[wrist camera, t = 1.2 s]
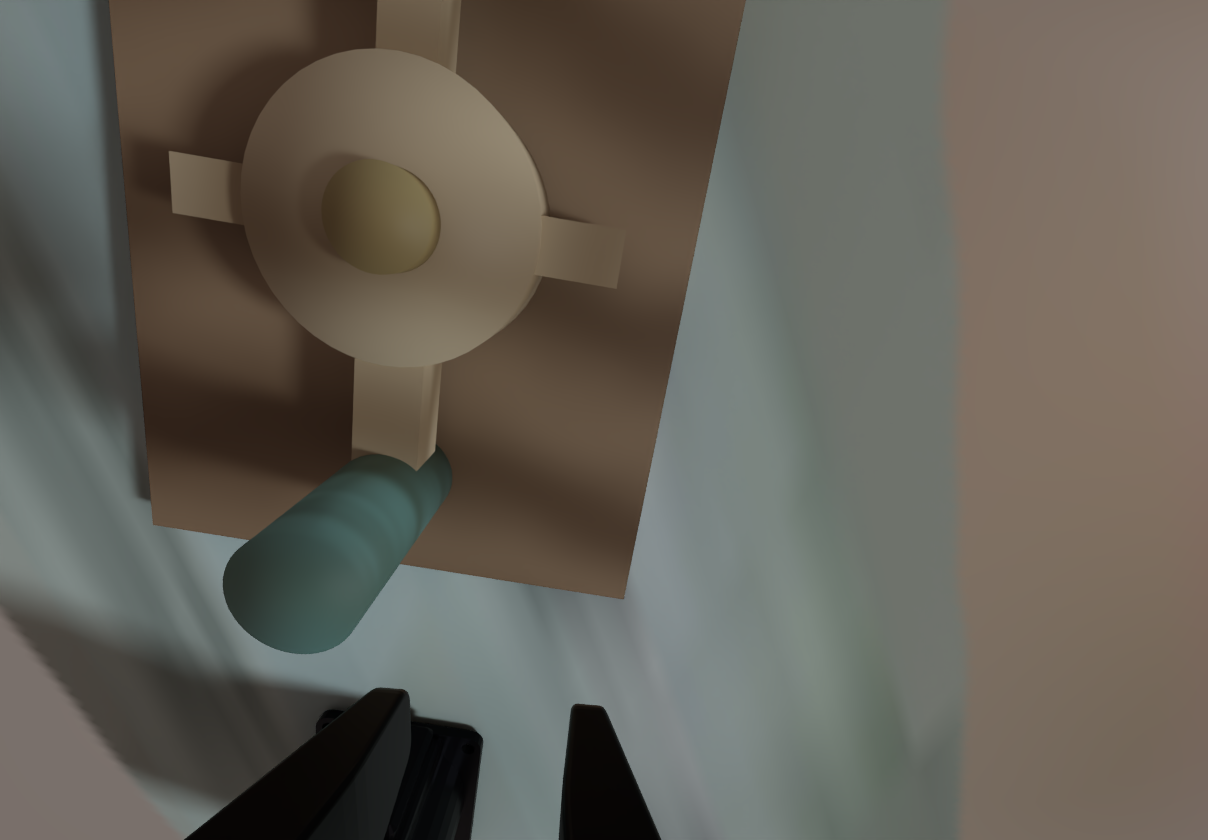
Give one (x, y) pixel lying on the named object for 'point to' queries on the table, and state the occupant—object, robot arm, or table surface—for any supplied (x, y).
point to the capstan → (381, 290)
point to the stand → (489, 371)
